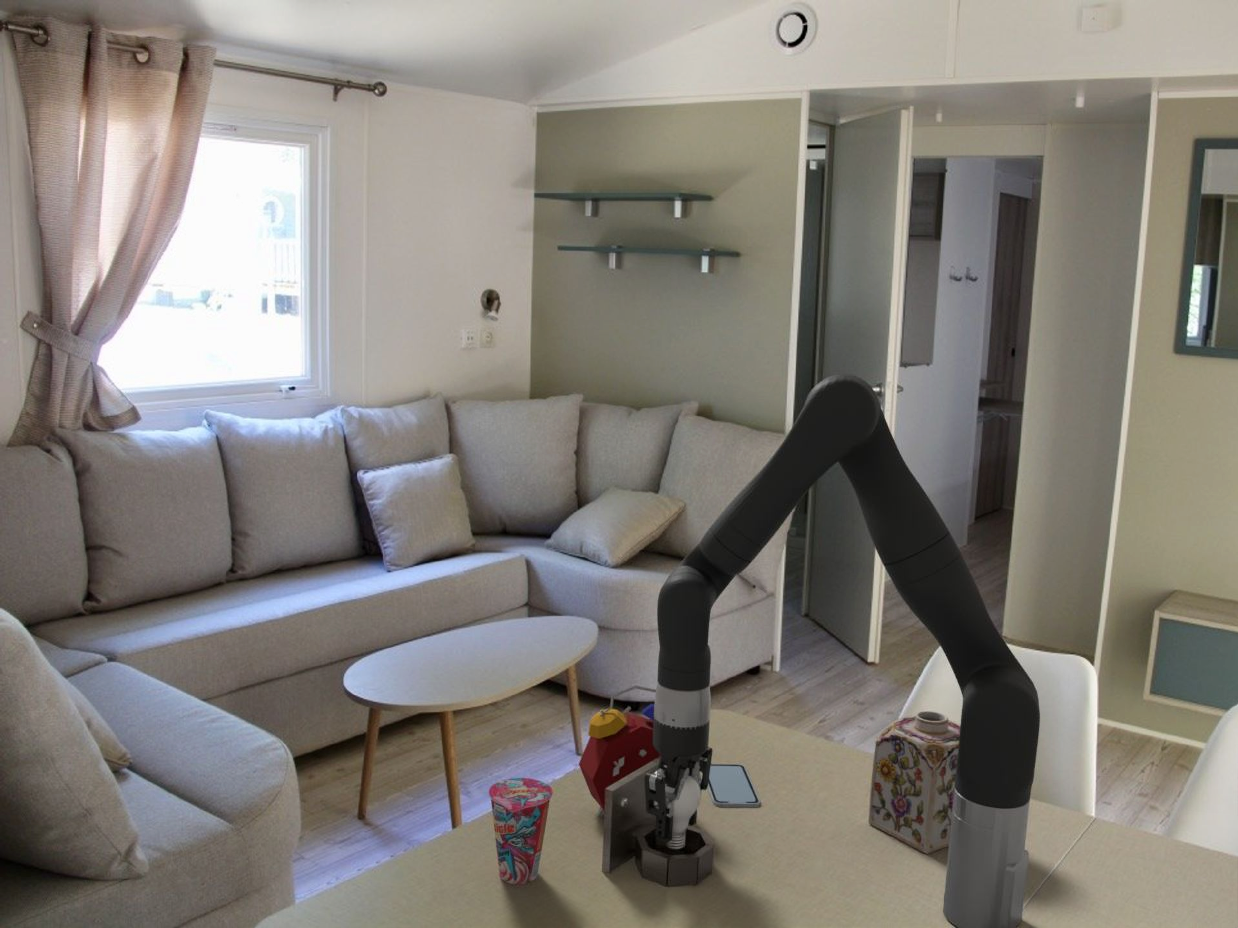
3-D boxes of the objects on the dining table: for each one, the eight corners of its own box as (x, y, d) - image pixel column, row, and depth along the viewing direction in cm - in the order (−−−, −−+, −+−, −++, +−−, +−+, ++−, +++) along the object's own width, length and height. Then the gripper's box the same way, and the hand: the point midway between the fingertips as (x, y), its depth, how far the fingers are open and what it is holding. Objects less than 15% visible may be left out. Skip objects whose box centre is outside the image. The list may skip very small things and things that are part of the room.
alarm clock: (666, 796, 191) (672, 673, 187) (690, 821, 183) (697, 693, 179) (576, 809, 185) (581, 682, 182) (596, 835, 177) (601, 703, 174)
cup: (479, 863, 168) (481, 781, 166) (539, 855, 171) (542, 774, 169) (497, 898, 160) (500, 811, 157) (560, 888, 163) (563, 803, 160)
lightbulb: (694, 862, 165) (698, 785, 163) (648, 856, 166) (651, 780, 164) (701, 840, 171) (704, 766, 169) (656, 834, 172) (659, 760, 170)
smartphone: (744, 764, 204) (761, 803, 189) (744, 768, 204) (761, 808, 189) (700, 763, 203) (713, 803, 188) (699, 768, 203) (713, 808, 188)
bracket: (730, 859, 172) (735, 778, 170) (677, 900, 161) (682, 814, 159) (657, 833, 179) (661, 755, 177) (601, 870, 167) (605, 788, 165)
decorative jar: (926, 856, 175) (937, 737, 172) (865, 824, 185) (874, 710, 181) (979, 835, 182) (991, 720, 179) (918, 805, 192) (927, 695, 188)
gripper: (677, 737, 157) (671, 860, 160) (732, 705, 169) (726, 820, 172) (628, 723, 162) (623, 842, 164) (686, 693, 173) (680, 805, 176)
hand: (676, 830), depth 168 cm, fingers closed on lightbulb, 5 cm apart
